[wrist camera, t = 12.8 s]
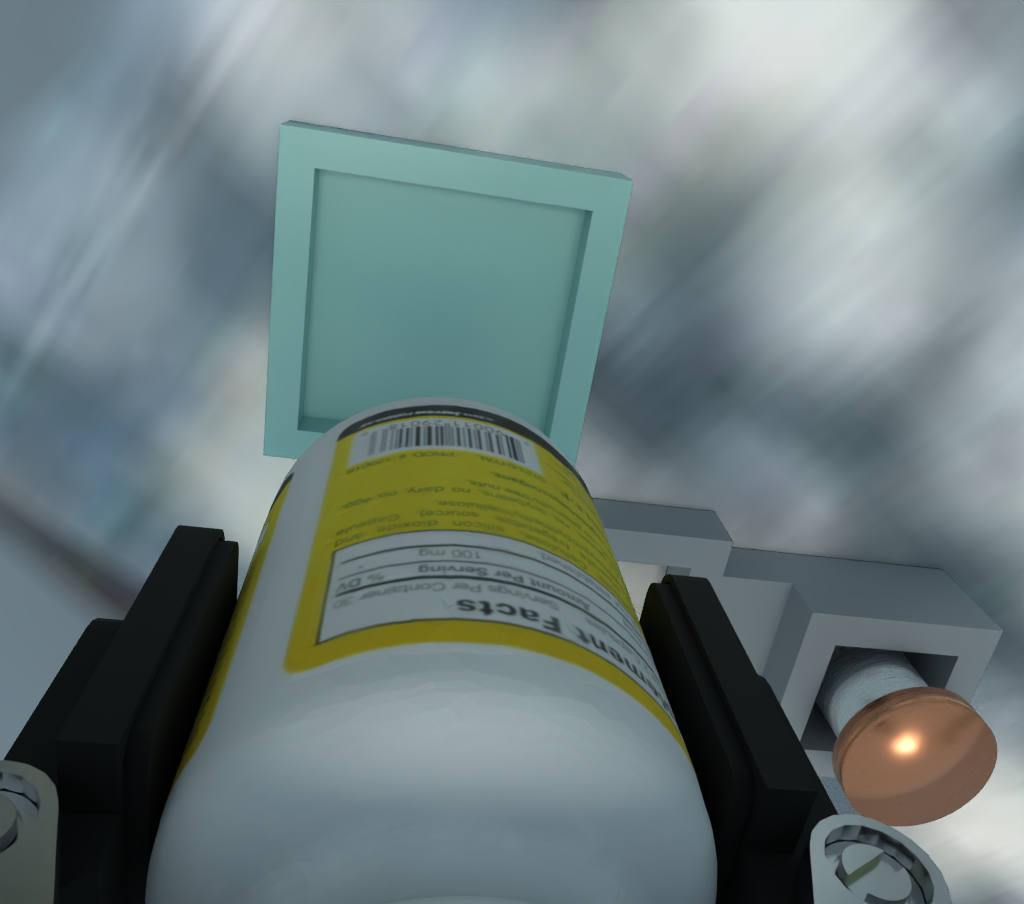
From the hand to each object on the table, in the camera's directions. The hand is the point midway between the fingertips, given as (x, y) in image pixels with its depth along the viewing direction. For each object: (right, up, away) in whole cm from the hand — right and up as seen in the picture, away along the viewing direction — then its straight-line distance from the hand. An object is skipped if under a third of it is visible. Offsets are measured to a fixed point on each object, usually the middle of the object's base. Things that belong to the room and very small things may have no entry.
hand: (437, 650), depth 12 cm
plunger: (+14, -5, +23) cm, 27 cm away
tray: (-1, +7, +16) cm, 18 cm away
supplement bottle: (0, +1, +3) cm, 3 cm away
